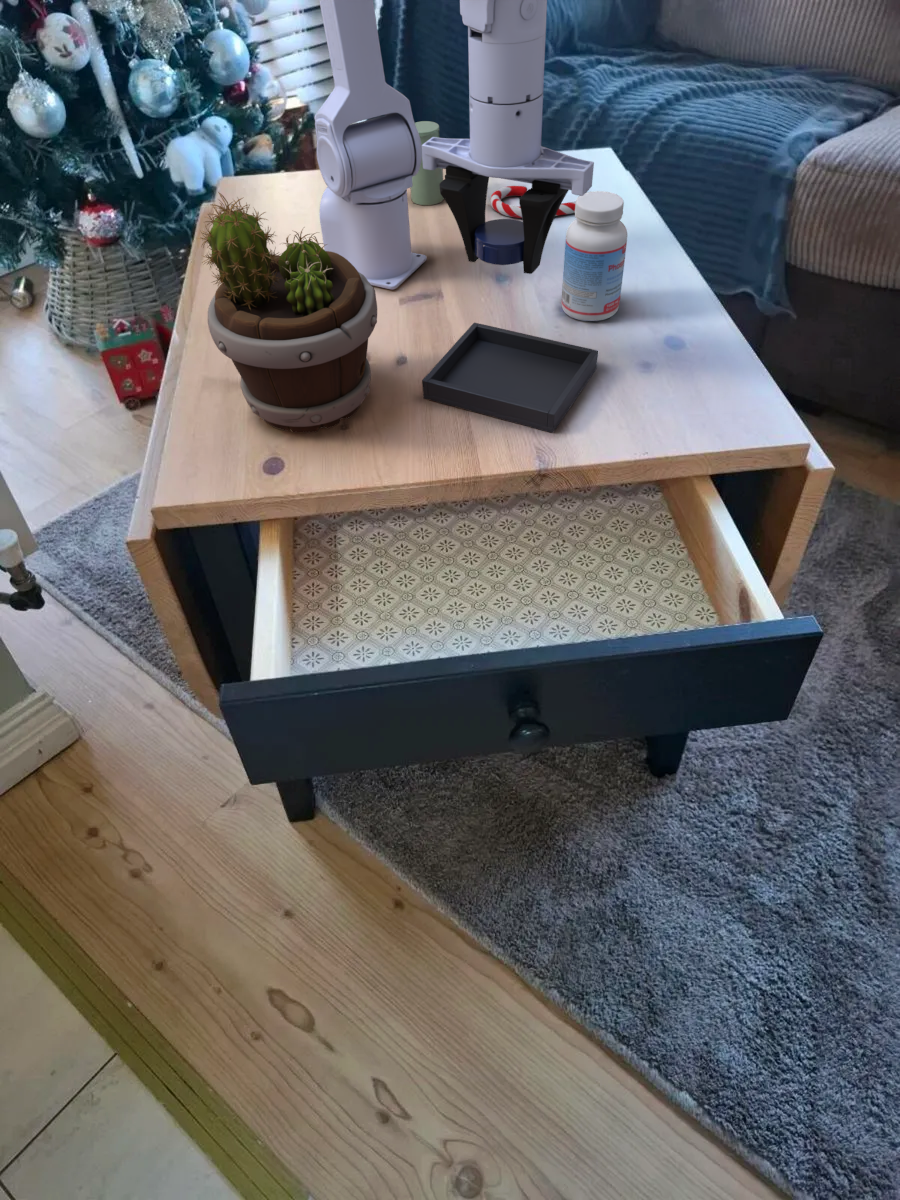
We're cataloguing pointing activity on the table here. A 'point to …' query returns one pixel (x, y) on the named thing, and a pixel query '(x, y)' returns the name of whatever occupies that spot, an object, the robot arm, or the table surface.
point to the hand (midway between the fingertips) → (504, 262)
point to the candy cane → (516, 210)
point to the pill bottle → (594, 257)
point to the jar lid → (500, 241)
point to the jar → (427, 171)
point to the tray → (511, 376)
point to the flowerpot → (290, 323)
